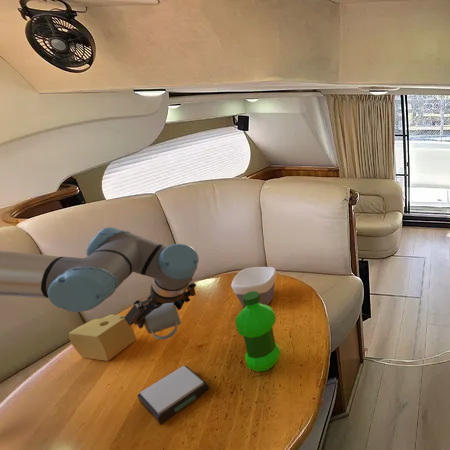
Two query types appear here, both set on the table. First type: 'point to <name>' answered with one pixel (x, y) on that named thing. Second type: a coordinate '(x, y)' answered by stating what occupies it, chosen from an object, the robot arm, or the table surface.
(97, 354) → the cheese
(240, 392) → the table surface
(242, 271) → the bowl
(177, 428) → the table surface
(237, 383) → the table surface
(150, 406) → the scale
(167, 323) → the ceramic mug
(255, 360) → the plastic bottle
